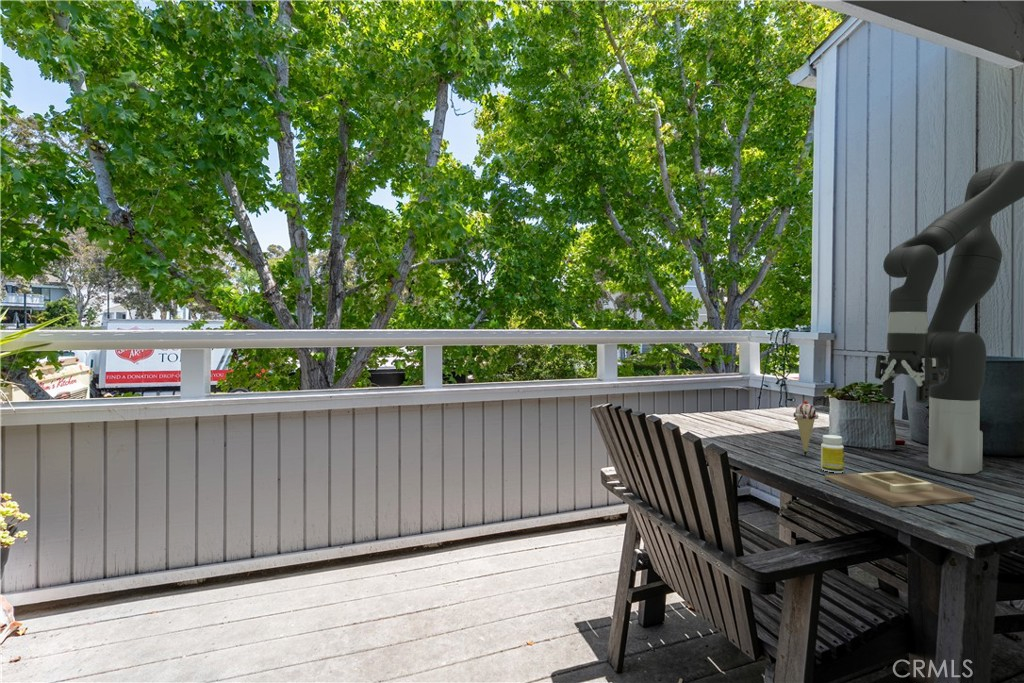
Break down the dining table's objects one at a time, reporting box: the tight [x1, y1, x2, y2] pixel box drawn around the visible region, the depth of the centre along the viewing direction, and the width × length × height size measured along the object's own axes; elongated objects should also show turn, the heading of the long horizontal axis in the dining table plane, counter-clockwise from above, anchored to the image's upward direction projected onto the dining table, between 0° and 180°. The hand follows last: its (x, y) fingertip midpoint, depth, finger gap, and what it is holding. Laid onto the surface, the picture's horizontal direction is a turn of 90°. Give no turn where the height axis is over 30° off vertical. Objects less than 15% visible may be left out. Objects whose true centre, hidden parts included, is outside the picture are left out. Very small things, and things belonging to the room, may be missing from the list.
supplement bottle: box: [820, 434, 845, 474], centre depth 123 cm, size 5×5×8 cm
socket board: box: [824, 470, 976, 508], centre depth 109 cm, size 18×18×2 cm
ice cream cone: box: [793, 400, 819, 457], centre depth 136 cm, size 6×6×15 cm
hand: (904, 400), depth 121 cm, fingers open, 8 cm apart
